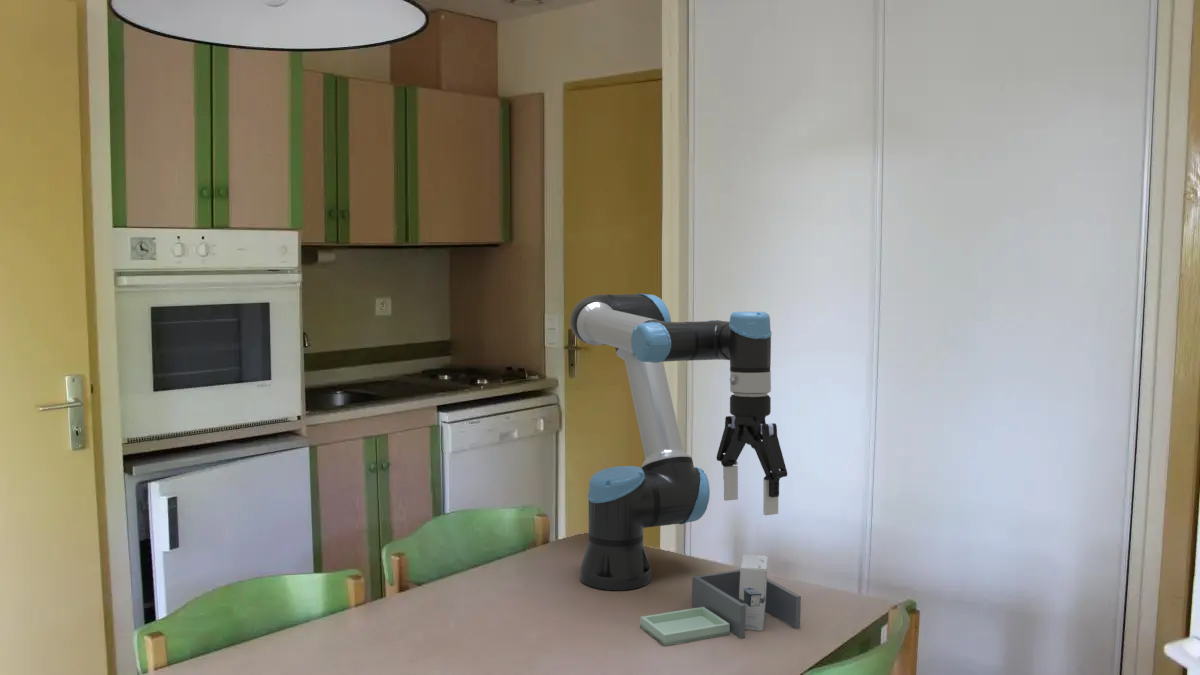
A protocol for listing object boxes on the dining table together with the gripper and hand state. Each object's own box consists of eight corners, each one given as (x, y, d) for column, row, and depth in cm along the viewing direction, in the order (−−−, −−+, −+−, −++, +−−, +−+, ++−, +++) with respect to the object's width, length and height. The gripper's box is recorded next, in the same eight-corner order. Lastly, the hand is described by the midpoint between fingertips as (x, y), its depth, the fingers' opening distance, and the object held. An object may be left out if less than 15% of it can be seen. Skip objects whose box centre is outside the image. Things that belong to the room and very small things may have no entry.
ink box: (740, 612, 184) (741, 553, 183) (766, 614, 183) (767, 554, 182) (737, 629, 176) (738, 567, 175) (765, 631, 175) (766, 569, 174)
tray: (640, 627, 176) (640, 616, 176) (703, 616, 181) (703, 606, 181) (664, 646, 167) (664, 635, 167) (729, 634, 173) (729, 623, 173)
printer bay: (691, 606, 187) (692, 576, 187) (748, 597, 192) (748, 568, 192) (740, 638, 171) (740, 606, 171) (800, 627, 176) (800, 596, 176)
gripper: (699, 389, 188) (699, 495, 189) (771, 401, 165) (771, 523, 166) (731, 387, 191) (731, 492, 192) (807, 399, 168) (806, 518, 169)
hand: (750, 506), depth 179 cm, fingers open, 13 cm apart
